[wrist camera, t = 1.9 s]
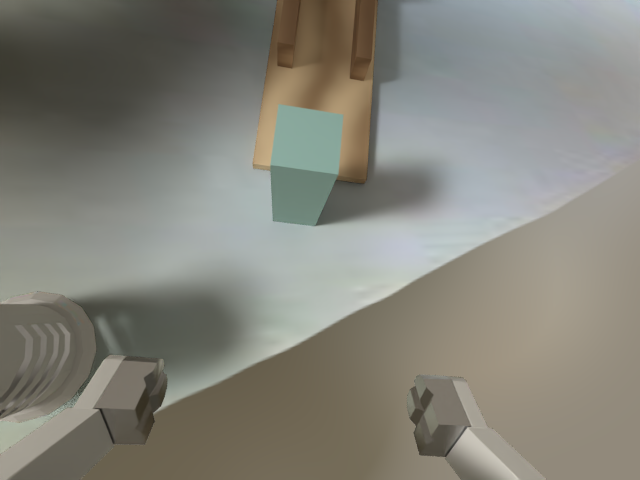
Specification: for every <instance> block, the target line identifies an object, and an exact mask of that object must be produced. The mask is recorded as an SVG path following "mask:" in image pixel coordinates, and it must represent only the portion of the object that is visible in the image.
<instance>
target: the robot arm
mask: <svg viewBox="0 0 640 480" xmlns="http://www.w3.org/2000/svg"><path fill="white" fill-rule="evenodd" d="M164 366H165V365H164V361H163V359H159V358H146V357H133V356H122V355H109V356H108V357H107V358H105V359H104V360H103V362H102V363H101V365H100V367H99V368H98V370H97V371H96V373H95V374H94V376H93V377H92V379H91V380H90V382H89V384H88V385H87V387H86V388H85V390H84V391H83V393H82V394H81V396H80V397H79V399H78V400H77V402H76V404H75V405H74V407H73V408H66V409H64V410H63V411H62V412H60V413H59V414H57V415H56V416H54V417H53V418H52V419H50V420H49V421H47V422H46V423H44V424H43V425H42V426H40V427H39V428H37V429H36V430H34V431H33V432H32V433H30V434H29V435H27V436H26V437H24V438H23V439H22V440H20V441H19V442H17V443H16V444H14V445H13V446H12V447H10V448H9V449H7V450H6V451H4V452H3V453H2V454H0V480H80V479H81V478H82V477H84V475H86V474H87V473H88V472H89V471H90V470H91V469H92V468H93V467H94V466H95V464H97V463H98V462H99V461H100V460H101V459H102V458H103V457H104V456H105V455H106V454H107V453H108V452H109V451H110V450H111V449H112V448H113V447H114V444H124V445H128V444H129V445H145V444H146V441H147V439H148V436H149V434H150V432H151V429H152V427H153V424H154V422H155V420H154V416H153V413H154V412H155V411H156V410H157V409H158V408H159V407H161V405H162V402H163V399H164V397H165V393H166V389H167V375H166V374H165V373H164V372H163V368H164ZM414 382H415V387H413V388H411V389H410V391H409V393H408V397H407V408H408V413H409V418H410V420H411V421H412V422H413V423H414V424H415V425H416V428H415V431H414V436H415V440H416V444H417V447H418V451H419V455H423V456H437V457H446V458H445V459H446V460H447V462H448V463H449V464H450V466H451V467H452V468H453V470H454V471H455V472H456V474H457V475H458V476H459V478H460V479H461V480H547V479H546V478H545V477H544V476H543V475H541V474H540V473H539V472H538V471H537V470H536V469H535V468H534V467H533V466H532V465H531V464H530V463H529V462H528V461H527V460H526V459H524V457H523V456H522V455H520V454H519V453H518V452H517V451H516V450H515V449H514V448H513V447H512V446H511V445H510V444H509V443H508V442H507V441H506V440H505V439H503V437H502V436H500V435H499V434H498V433H497V432H496V431H495V430H494V429H493V428H488V427H487V424H486V422H485V420H484V417H483V415H482V413H481V411H480V409H479V407H478V405H477V403H476V401H475V398H474V396H473V394H472V392H471V390H470V388H469V385H468V384H467V381H466V380H465V379H464V378H462V377H447V376H436V375H418V376H416V379H415V380H414Z"/></svg>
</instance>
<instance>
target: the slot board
mask: <svg viewBox="0 0 640 480" xmlns="http://www.w3.org/2000/svg"><path fill="white" fill-rule="evenodd" d="M377 5H378V0H277V5H276V12H275V18H274V25H273V32H272V38H271V45H270V52H269V58H268V65H267V72H266V78H265V85H264V91H263V98H262V105H261V111H260V118H259V125H258V131H257V138H256V145H255V151H254V158H253V168H255V169H262V170H269V171H270V163H271V156H272V148H273V141H274V134H275V126H276V119H277V112H278V104H281V105H287V106H293V107H300V108H306V109H312V110H318V111H324V112H330V113H336V114H343V126H342V138H341V149H340V161H339V173H338V176H337V179H336V180H341V181H348V182H355V183H362V184H364V183H365V181H366V180H367V166H368V150H369V134H370V118H371V102H372V86H373V70H374V53H375V37H376V21H377Z"/></svg>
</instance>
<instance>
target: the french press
mask: <svg viewBox="0 0 640 480" xmlns="http://www.w3.org/2000/svg"><path fill="white" fill-rule="evenodd" d="M96 351H97V349H96V340H95V332H94V326H93V324H92V323H91V321H90V319H89V318H88V316H87V315H86V313H85V312H84V310H83V308H82V307H81V306H79V305H77V304H76V303H74V302H73V301H71V300H69V299H68V298H66V297H64V296H63V295H58V294H52V293H45V292H38V291H37V292H32V293H27V294H23V295H18V296H13V297H10V298H8V299H7V300H5V301H3V302H2V303H0V421H9V422H18V423H20V422H24V421H27V420H31V419H35V418H38V417H42V416H46V415H48V414H50V413H51V412H53V411H54V410H56V409H57V408H59V407H60V406H61V405H63V404H64V403H66V402H67V401H69V400H70V399H72V398H73V396H74V395H75V394H76V392H77V391H78V390H79V388H80V387H81V386H82V384H83V383H84V382H85V380H86V379H87V378H88V376H89V374H90V371H91V368H92V364H93V361H94V357H95V354H96Z"/></svg>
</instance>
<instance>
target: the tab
mask: <svg viewBox="0 0 640 480" xmlns="http://www.w3.org/2000/svg"><path fill="white" fill-rule="evenodd" d="M342 126H343V114H336V113H330V112H324V111H318V110H312V109H306V108H300V107H293V106H287V105H281V104H278V112H277V119H276V126H275V134H274V141H273V148H272V156H271V163H270V171H271V191H272V212H273V221H277V222H285V223H294V224H302V225H310V226H315V225H316V223H317V221H318V218H319V216H320V214H321V212H322V210H323V207H324V205H325V203H326V201H327V199H328V196H329V194H330V192H331V190H332V188H333V185H334V183H335V181H336V179H337V176H338V173H339V161H340V149H341V138H342Z"/></svg>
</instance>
